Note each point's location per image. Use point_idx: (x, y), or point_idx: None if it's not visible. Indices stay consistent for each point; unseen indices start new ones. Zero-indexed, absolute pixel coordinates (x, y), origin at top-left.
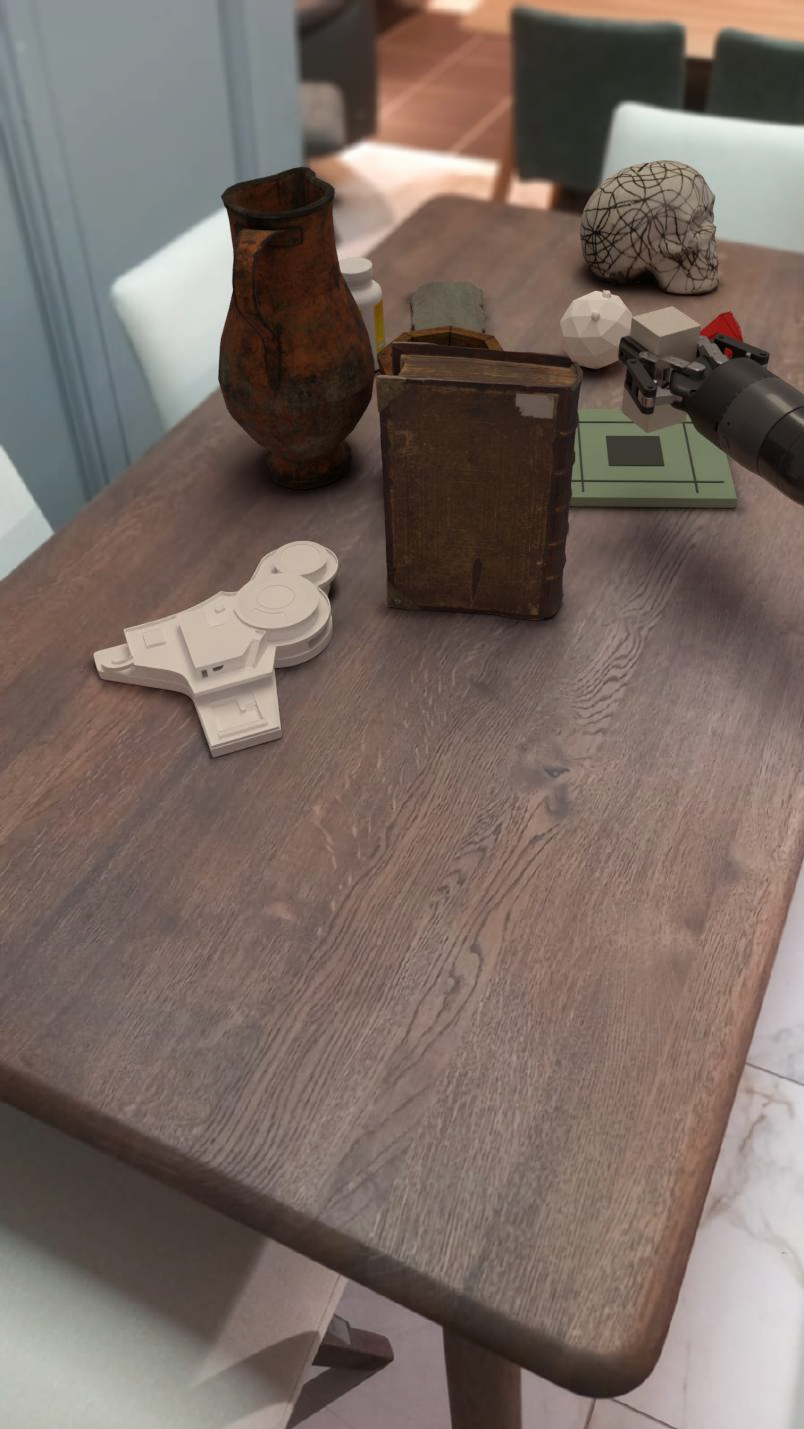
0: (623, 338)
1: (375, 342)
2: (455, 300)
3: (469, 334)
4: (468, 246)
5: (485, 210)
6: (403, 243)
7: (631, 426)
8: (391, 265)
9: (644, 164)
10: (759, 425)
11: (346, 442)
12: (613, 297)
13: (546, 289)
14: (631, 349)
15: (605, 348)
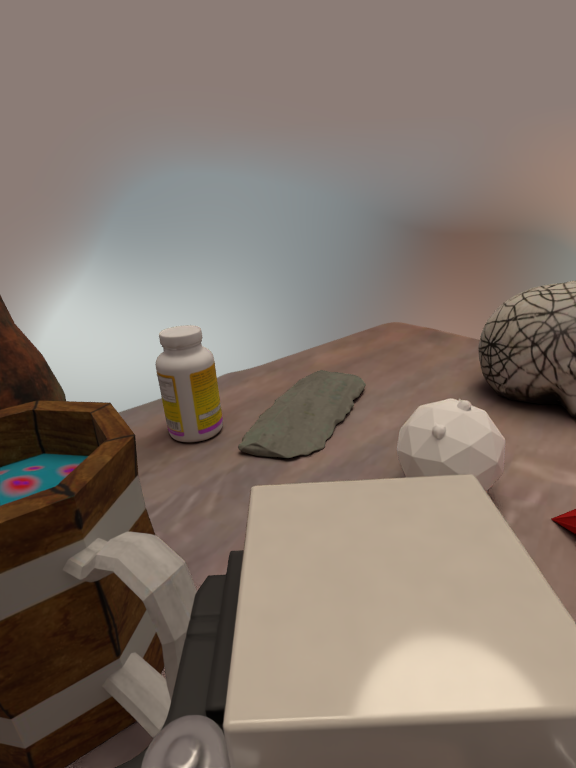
0: (228, 560)
1: (194, 412)
2: (329, 388)
3: (106, 423)
4: (386, 351)
5: (419, 331)
6: (336, 344)
7: None
8: (313, 356)
9: (558, 283)
10: None
11: None
12: (475, 411)
13: (434, 394)
14: (210, 640)
15: None
